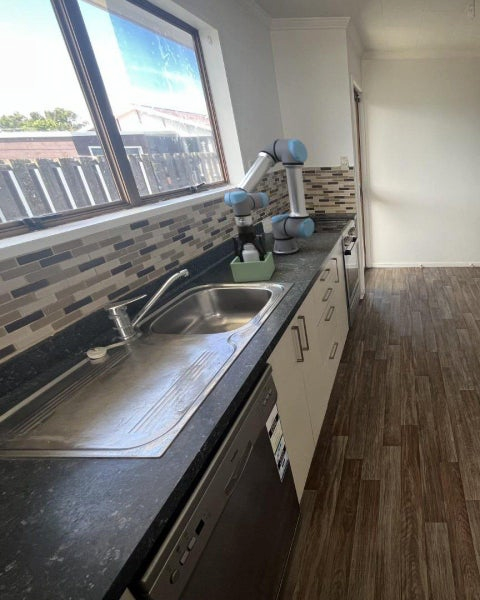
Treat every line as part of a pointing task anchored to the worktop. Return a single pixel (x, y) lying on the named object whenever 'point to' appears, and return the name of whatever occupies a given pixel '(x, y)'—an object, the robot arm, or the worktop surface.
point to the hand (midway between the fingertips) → (254, 268)
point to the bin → (253, 269)
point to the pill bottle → (250, 253)
